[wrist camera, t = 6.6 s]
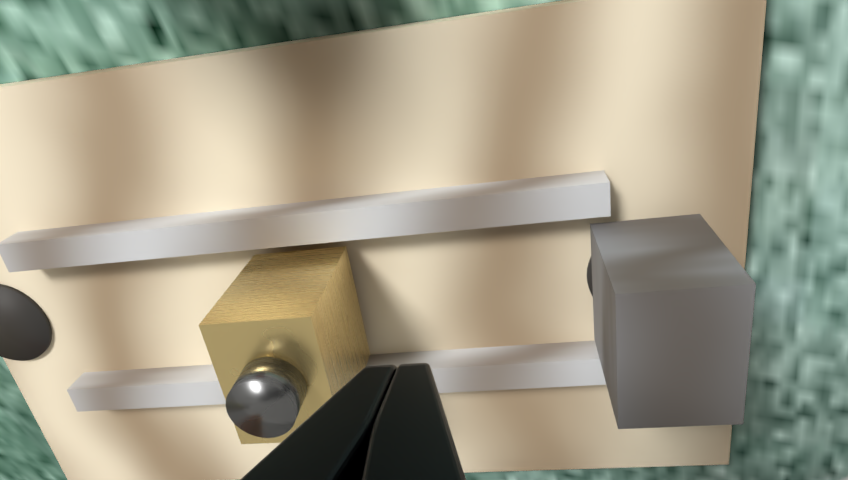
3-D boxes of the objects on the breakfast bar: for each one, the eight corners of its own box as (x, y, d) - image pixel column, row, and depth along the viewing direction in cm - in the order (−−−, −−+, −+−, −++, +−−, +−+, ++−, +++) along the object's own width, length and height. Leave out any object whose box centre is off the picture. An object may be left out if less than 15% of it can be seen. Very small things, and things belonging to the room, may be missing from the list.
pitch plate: (753, -28, 16) (873, -20, 11) (719, 443, 22) (784, 584, 17) (-117, 102, 20) (-322, 151, 15) (72, 466, 26) (-25, 585, 21)
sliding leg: (348, 241, 19) (298, 340, 14) (371, 348, 20) (334, 468, 16) (257, 250, 19) (179, 348, 14) (287, 353, 21) (226, 471, 16)
